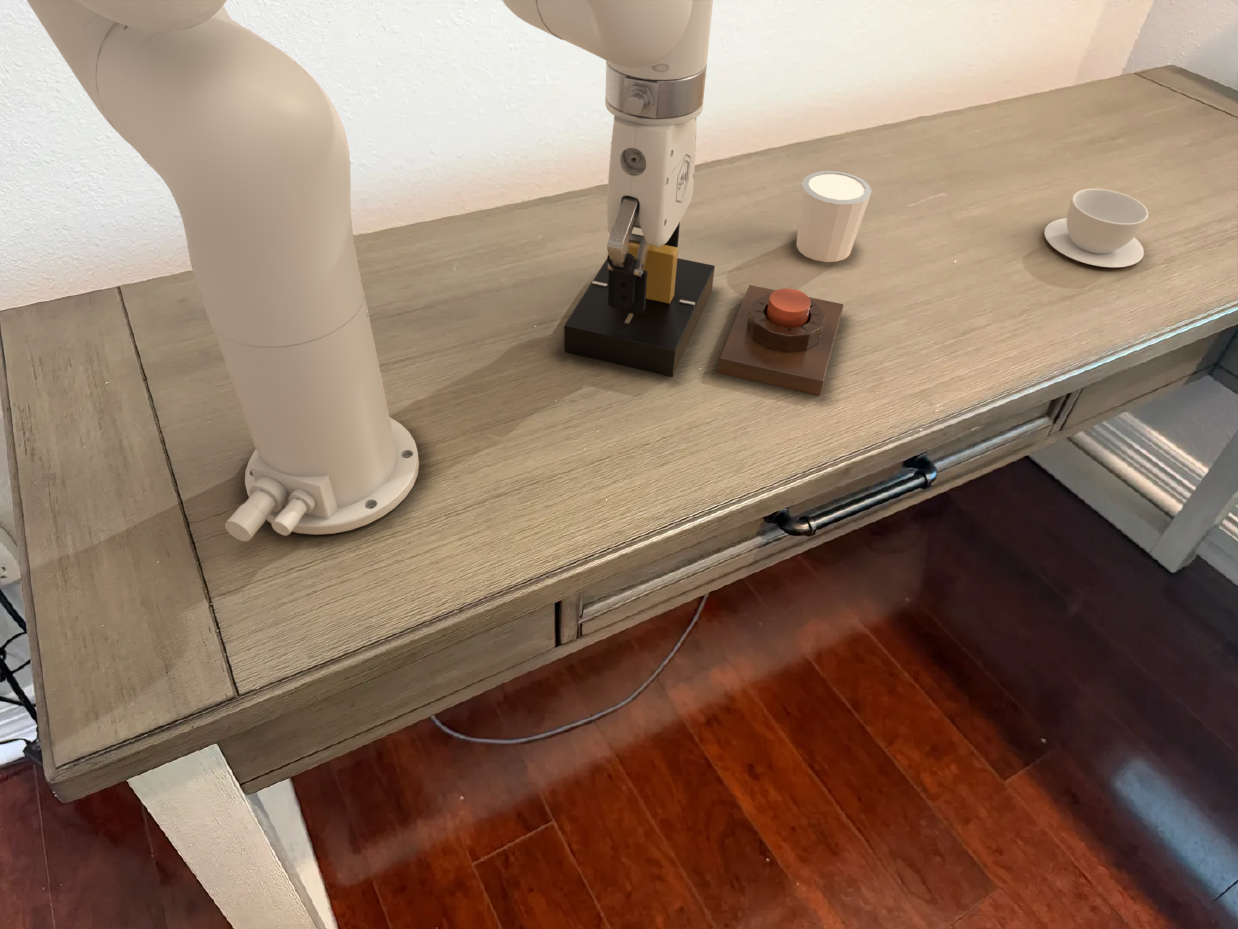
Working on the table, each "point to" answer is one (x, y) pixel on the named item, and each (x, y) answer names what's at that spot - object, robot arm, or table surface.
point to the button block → (780, 344)
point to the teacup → (1100, 229)
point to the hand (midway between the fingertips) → (643, 279)
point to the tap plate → (640, 322)
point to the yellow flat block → (659, 271)
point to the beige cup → (830, 214)
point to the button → (788, 308)
